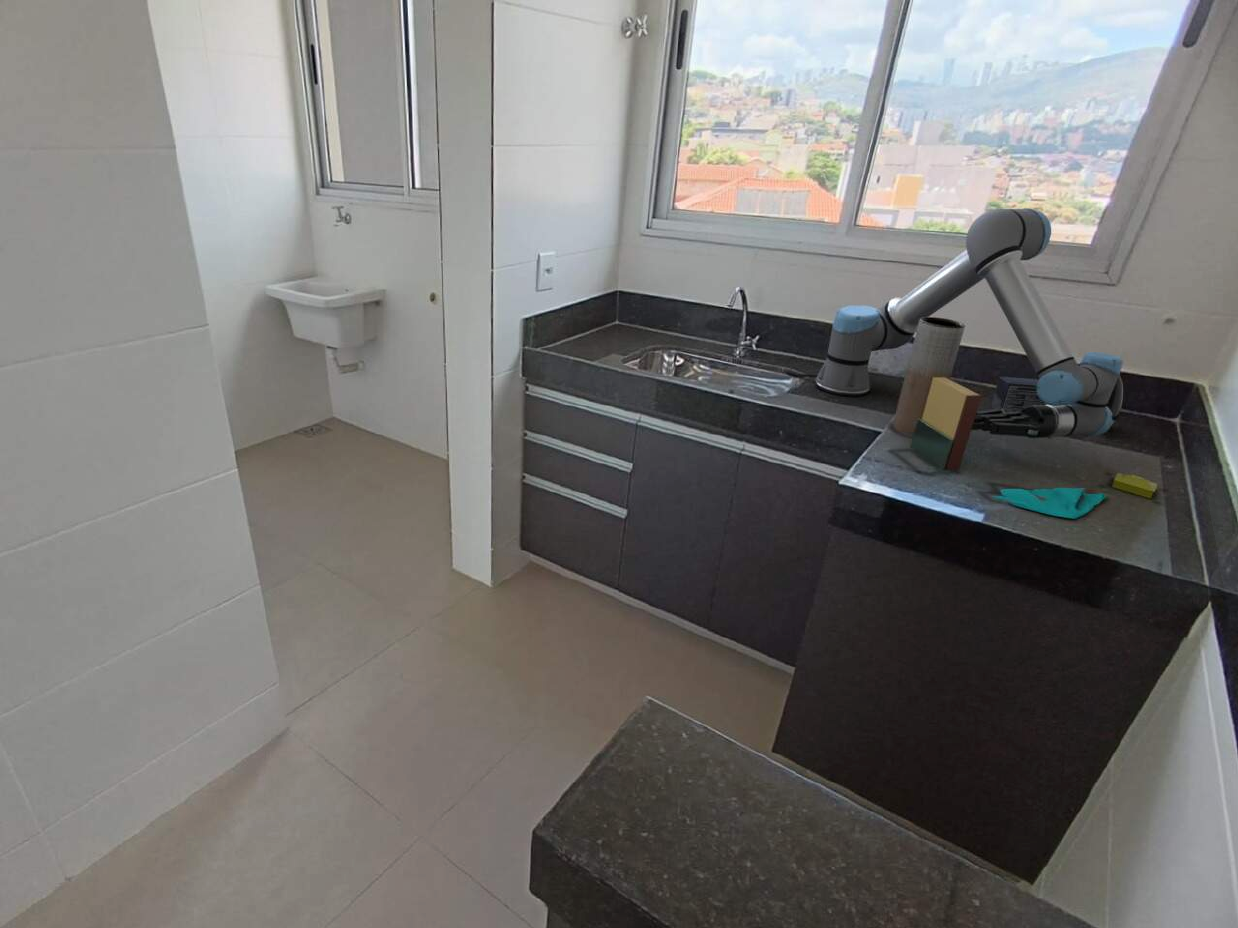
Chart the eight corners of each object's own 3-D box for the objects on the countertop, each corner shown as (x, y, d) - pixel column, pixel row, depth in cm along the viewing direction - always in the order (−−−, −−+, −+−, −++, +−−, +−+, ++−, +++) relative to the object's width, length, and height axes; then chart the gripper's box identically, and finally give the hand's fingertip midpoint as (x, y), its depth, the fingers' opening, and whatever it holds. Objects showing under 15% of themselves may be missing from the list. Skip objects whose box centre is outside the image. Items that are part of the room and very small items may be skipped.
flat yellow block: (1102, 486, 142) (1107, 474, 141) (1109, 474, 149) (1114, 462, 147) (1158, 503, 136) (1164, 491, 135) (1163, 489, 143) (1169, 478, 141)
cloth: (998, 513, 129) (1002, 503, 128) (972, 481, 141) (975, 471, 140) (1137, 526, 127) (1142, 516, 126) (1098, 493, 139) (1102, 483, 138)
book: (945, 473, 144) (968, 396, 136) (912, 450, 155) (932, 377, 147) (957, 472, 145) (981, 395, 137) (924, 449, 156) (945, 377, 148)
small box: (1026, 414, 182) (1039, 378, 177) (1037, 423, 176) (1051, 386, 171) (987, 411, 182) (998, 375, 178) (997, 420, 177) (1009, 382, 172)
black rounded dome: (1116, 426, 177) (1138, 372, 170) (1109, 436, 170) (1132, 380, 163) (1072, 415, 183) (1092, 363, 176) (1064, 424, 176) (1085, 370, 169)
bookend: (921, 474, 143) (931, 440, 140) (891, 450, 154) (899, 419, 150) (943, 473, 144) (953, 439, 141) (911, 450, 155) (920, 418, 151)
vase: (907, 439, 161) (937, 327, 149) (884, 423, 169) (911, 316, 157) (942, 438, 163) (974, 327, 151) (918, 422, 171) (947, 316, 159)
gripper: (1060, 447, 147) (968, 451, 142) (1018, 425, 158) (931, 427, 154) (1072, 416, 144) (978, 419, 139) (1028, 396, 155) (940, 397, 151)
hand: (954, 423), depth 146 cm, fingers closed
